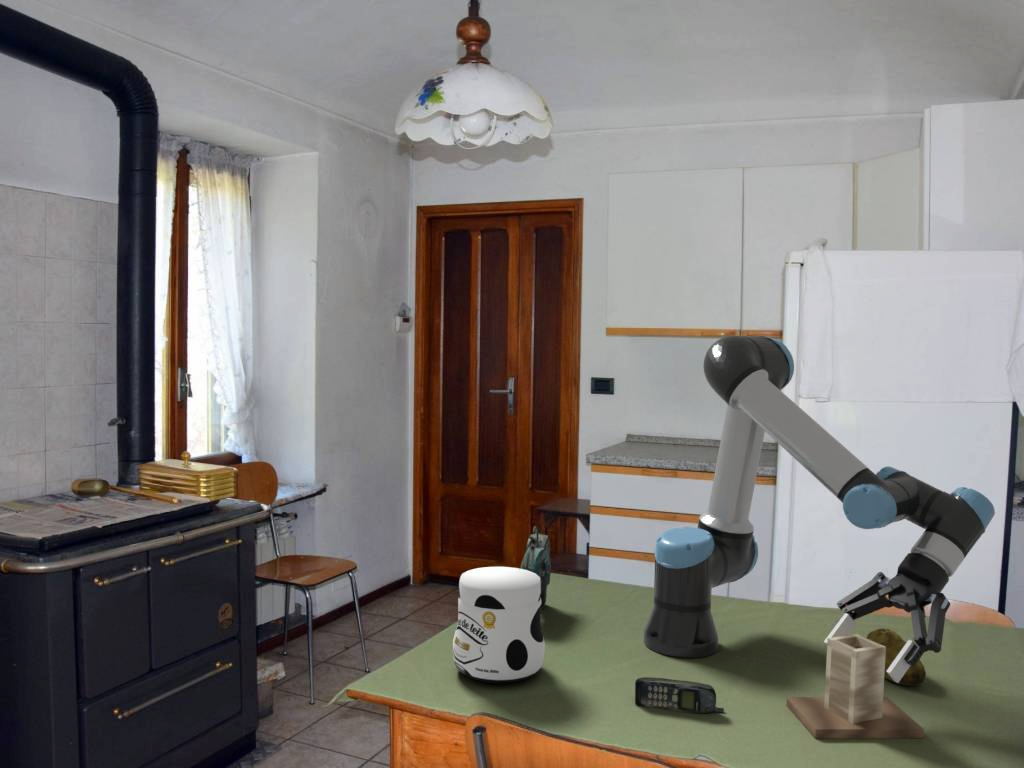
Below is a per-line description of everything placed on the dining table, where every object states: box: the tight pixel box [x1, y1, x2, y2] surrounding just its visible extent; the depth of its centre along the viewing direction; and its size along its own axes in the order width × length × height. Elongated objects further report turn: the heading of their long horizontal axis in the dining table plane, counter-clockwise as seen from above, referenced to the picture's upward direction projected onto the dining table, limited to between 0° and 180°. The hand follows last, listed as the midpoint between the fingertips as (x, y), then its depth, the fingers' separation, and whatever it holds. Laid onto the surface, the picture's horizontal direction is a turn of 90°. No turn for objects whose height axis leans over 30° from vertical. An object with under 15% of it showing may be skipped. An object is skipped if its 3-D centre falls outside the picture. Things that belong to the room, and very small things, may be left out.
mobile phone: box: [634, 676, 725, 714], centre depth 146 cm, size 5×3×15 cm
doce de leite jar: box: [451, 566, 546, 684], centre depth 159 cm, size 17×17×18 cm
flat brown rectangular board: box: [785, 696, 925, 740], centre depth 143 cm, size 18×12×9 cm, turn 94°
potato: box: [866, 628, 927, 687], centre depth 162 cm, size 8×13×8 cm, turn 177°
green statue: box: [519, 525, 552, 609], centre depth 192 cm, size 20×6×20 cm, turn 169°
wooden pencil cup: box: [824, 633, 886, 724], centre depth 142 cm, size 6×6×12 cm
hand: (859, 661), depth 142 cm, fingers open, 13 cm apart
